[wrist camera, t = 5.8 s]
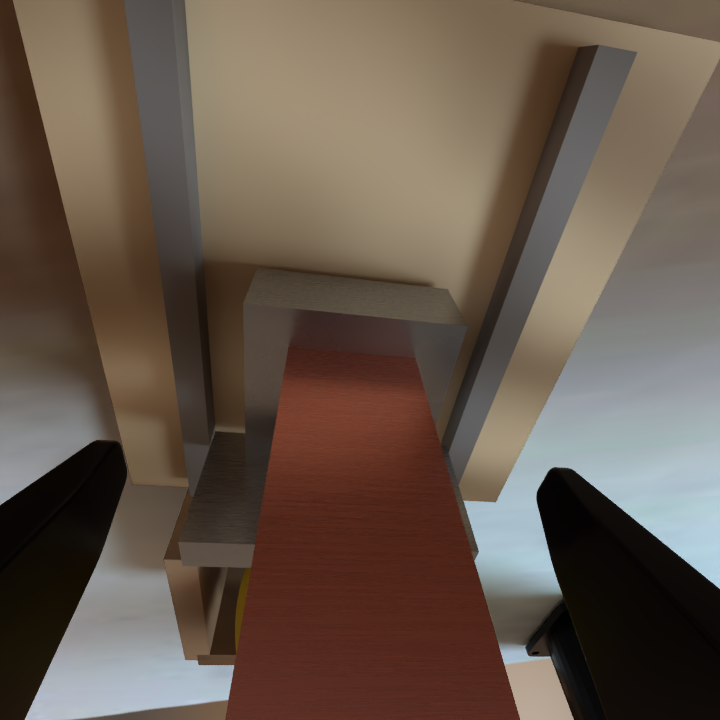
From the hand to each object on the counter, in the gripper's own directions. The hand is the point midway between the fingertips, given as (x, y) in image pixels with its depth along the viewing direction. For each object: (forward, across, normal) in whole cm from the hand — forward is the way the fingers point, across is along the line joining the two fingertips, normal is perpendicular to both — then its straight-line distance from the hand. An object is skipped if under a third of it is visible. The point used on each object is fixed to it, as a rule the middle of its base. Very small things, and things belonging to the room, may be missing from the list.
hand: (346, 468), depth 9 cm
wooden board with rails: (+6, 0, -1) cm, 6 cm away
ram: (+4, 0, 0) cm, 4 cm away
